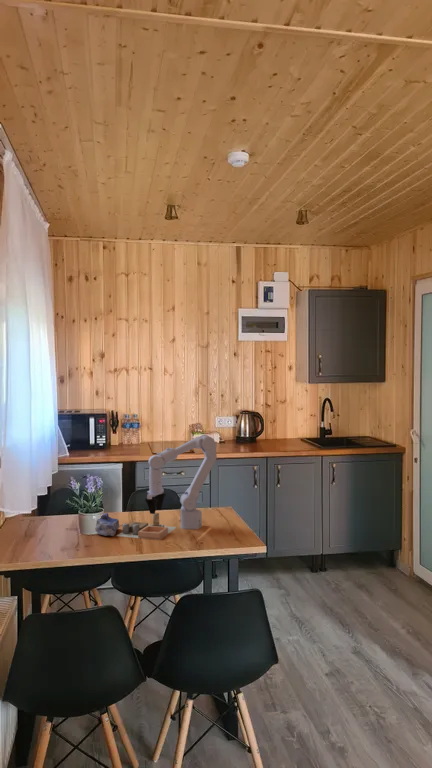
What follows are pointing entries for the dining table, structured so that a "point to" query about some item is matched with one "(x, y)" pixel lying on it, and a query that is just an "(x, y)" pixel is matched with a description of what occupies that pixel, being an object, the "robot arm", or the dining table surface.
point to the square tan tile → (142, 525)
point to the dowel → (156, 519)
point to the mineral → (107, 525)
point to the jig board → (137, 528)
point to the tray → (153, 532)
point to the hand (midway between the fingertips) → (155, 511)
